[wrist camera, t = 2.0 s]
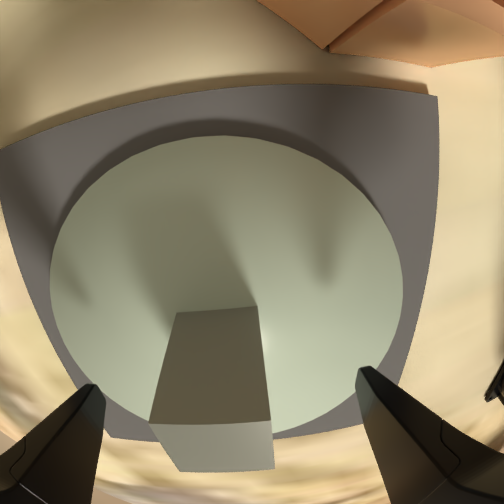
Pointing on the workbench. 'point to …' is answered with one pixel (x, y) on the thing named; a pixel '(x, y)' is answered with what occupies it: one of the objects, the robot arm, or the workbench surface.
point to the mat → (242, 125)
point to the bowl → (400, 28)
